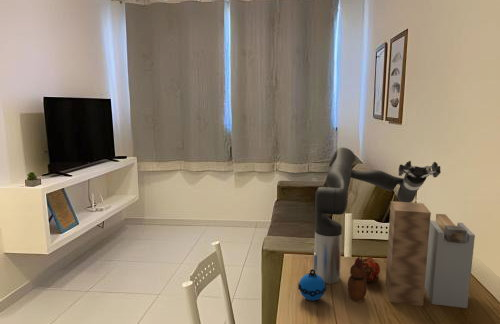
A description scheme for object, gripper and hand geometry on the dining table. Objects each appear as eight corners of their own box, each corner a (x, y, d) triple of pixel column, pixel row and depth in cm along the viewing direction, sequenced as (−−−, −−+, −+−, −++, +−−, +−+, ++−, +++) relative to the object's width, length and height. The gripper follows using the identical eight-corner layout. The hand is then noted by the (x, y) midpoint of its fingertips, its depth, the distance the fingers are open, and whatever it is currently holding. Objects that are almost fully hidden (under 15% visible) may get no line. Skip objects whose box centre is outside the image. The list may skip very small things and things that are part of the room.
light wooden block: (447, 242, 112) (448, 229, 111) (432, 221, 131) (433, 210, 130) (465, 243, 111) (467, 230, 110) (447, 222, 130) (448, 211, 129)
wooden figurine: (366, 304, 116) (369, 259, 113) (347, 302, 117) (349, 257, 115) (364, 294, 122) (367, 250, 120) (346, 292, 123) (348, 249, 121)
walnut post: (388, 301, 118) (395, 210, 113) (385, 285, 128) (390, 201, 123) (422, 305, 115) (430, 212, 111) (416, 288, 126) (423, 203, 121)
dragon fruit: (366, 292, 127) (363, 280, 138) (387, 279, 125) (383, 269, 137) (351, 270, 128) (350, 261, 139) (373, 258, 126) (369, 249, 138)
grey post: (432, 303, 116) (438, 232, 113) (424, 285, 128) (429, 220, 124) (467, 308, 114) (474, 235, 110) (456, 289, 126) (462, 222, 122)
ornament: (323, 292, 123) (324, 264, 121) (326, 306, 115) (327, 276, 113) (297, 291, 124) (298, 263, 122) (298, 305, 115) (299, 275, 114)
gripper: (395, 169, 153) (401, 153, 138) (433, 170, 149) (443, 155, 135) (395, 186, 150) (401, 172, 135) (433, 188, 147) (444, 174, 132)
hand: (422, 163), depth 135 cm, fingers open, 8 cm apart
